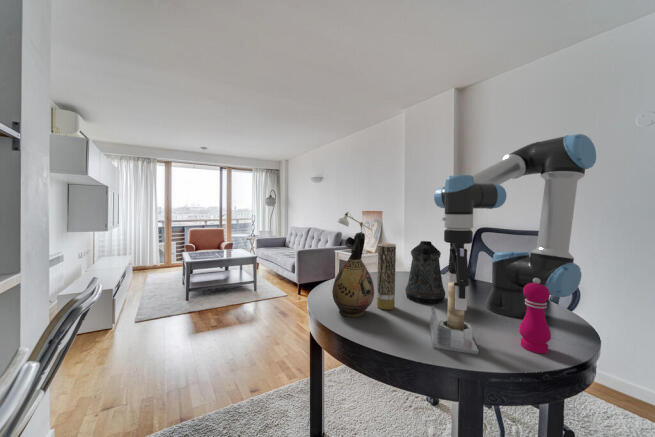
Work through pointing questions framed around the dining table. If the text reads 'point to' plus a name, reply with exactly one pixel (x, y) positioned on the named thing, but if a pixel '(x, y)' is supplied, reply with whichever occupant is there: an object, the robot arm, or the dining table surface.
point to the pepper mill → (535, 318)
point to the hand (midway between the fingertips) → (457, 301)
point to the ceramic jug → (353, 281)
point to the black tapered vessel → (425, 275)
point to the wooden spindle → (454, 310)
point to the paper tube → (386, 276)
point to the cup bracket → (451, 336)
